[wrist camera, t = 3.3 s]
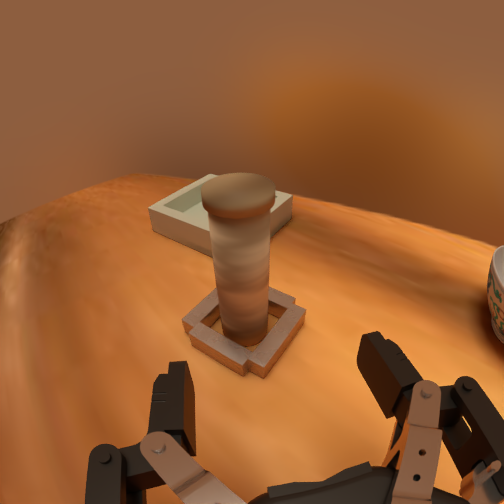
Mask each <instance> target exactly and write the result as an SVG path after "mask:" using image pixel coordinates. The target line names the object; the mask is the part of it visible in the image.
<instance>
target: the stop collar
mask: <svg viewBox="0 0 504 504" xmlns="http://www.w3.org/2000/svg"><path fill="white" fill-rule="evenodd" d="M295 299H296V298H294V297H292V296H289V295H287V294H285V293H282V292H280V291H278V290H276V289H273V288H271V287H269V294H268V313H270V314H272V315H274V316H276V317H278V318H280V319H279V320H278V322H277V323H276V324H275V326H274V327H273V328H272V329H271V331H270V332H269V333H268V334H267V336H266V337H265V338H264V339H263V341H262V342H261V343H260V344H259V346H258V347H257V348H256V349H255V350H254V352H252V351H250V350H248V349H246V348H244V347H243V346H241V345H239V344H237V343H235V342H233V341H232V340H230V339H228V338H226V337H225V336H223V335H221V334H219V333H218V332H216V331H214V330H212V329H211V328H210V327H211V326H212V324H213V323H214V322H215V321H216V320H217V319H218V318H219V317H220V316H221V315H220V308H219V301H218V294H217V287H216V288H215V289H214V290H213V291H212V292H211V293H210V294H209V295H208V296H207V297H206V298H204V299H203V300H202V301H201V302H200V303H199V304H198V305H197V306H196V307H195V308H194V309H193V310H191V311H190V312H189V313H188V314H187V315H186V316H185V317H184V318H183V319H182V323H183V326H184V329H185V332H186V333H187V334H189V337H190V340H191V344H192V345H193V346H194V347H196V348H197V349H199V350H200V351H202V352H203V353H205V354H207V355H208V356H210V357H211V358H213V359H215V360H216V361H218V362H219V363H221V364H223V365H224V366H226V367H228V368H229V369H231V370H233V371H235V372H236V373H238V374H240V375H241V376H244V375H245V374H246V373H247V371H248V370H249V371H251V372H252V373H254V374H256V375H258V376H260V377H262V378H263V379H264V377H265V376H266V375H267V373H268V372H269V371H270V369H271V368H272V367H273V365H274V364H275V363H276V361H277V360H278V359H279V357H280V356H281V354H282V353H283V352H284V350H285V349H286V347H287V346H288V345H289V343H290V342H291V340H292V339H293V338H294V336H295V335H296V333H297V332H298V330H299V329H300V328H301V326H302V325H303V323H304V320H305V314H306V309H304V308H302V307H299V306H297V305H295Z"/></svg>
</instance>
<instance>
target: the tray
mask: <svg viewBox="0 0 504 504" xmlns="http://www.w3.org/2000/svg"><path fill="white" fill-rule="evenodd" d="M214 177H217V176H216V175H212V174H209V175H207V176H205V177H203V178H201V179H199V180H197V181H195V182H194V183H192V184H190V185H188V186H186V187H184V188H182V189H180V190H179V191H177V192H175V193H173V194H171V195H170V196H168V197H166V198H164V199H162V200H161V201H159V202H157V203H155V204H154V205H152V206H150V207H148V210H149V215H150V220H151V224H152V228H153V231H155V232H157V233H159V234H161V235H164V236H166V237H168V238H170V239H172V240H175V241H177V242H179V243H181V244H183V245H186V246H188V247H190V248H192V249H195V250H197V251H199V252H201V253H203V254H206V255H208V256H210V257H212V258H213V255H212V247H211V239H210V230H209V221H208V212H207V211H206V210H205V209H204V208H203V205H202V198H201V187H202V185H203V184H204V183H205V182H207V181H208V180H210V179H212V178H214ZM292 200H293V195H290V194H287V193H283V192H280V191H276V190H275V204H274V206H273V207H272V208H271V216H270V238H271V237H272V236H273V235H274V234H275V233H276V232H277V231H278V230H280V229H281V228H282V227H283V226H284V225H285V224H286V223H287V222H288V221H289V220H290V219H291V217H292Z"/></svg>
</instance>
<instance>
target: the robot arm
mask: <svg viewBox="0 0 504 504" xmlns="http://www.w3.org/2000/svg"><path fill="white" fill-rule="evenodd" d="M357 366H358V369H359V371H360V372H361V374H362V376H363V378H364V379H365V381H366V383H367V385H368V386H369V388H370V390H371V392H372V393H373V395H374V397H375V399H376V401H377V402H378V404H379V406H380V408H381V410H382V411H383V413H384V415H385V417H386V419H388V418H390V417H393V416H395V417H396V419H397V420H396V422H395V426H394V430H393V434H392V437H391V441H390V445H389V448H388V452H387V455H386V457H385V459H384V461H383V463H382V466H370V463H369V461H368V462H365V463H362V464H360V465H357V466H353V467H350V468H347V469H345V470H343V471H341V472H339V473H338V474H336V475H334V476H332V477H330V478H328V479H327V480H325V481H322V482H293V483H288V484H282V485H277V486H271V487H267V489H268V492H267V493H264V494H262V495H260V496H258V497H256V498H254V499H253V500H251V501H250V502H249V503H248V504H500V503H502V502H503V501H504V420H503V418H502V417H501V415H500V414H499V412H498V411H497V409H496V408H495V407H494V405H493V404H492V402H491V401H490V399H489V398H488V397H487V395H486V394H485V392H484V391H483V390H482V388H481V387H480V386H479V384H478V383H477V382H476V380H474V379H473V378H471V377H468V376H462V377H460V378H458V379H457V380H456V382H455V384H454V385H450V386H441V387H439V386H438V385H437V384H436V383H434V382H432V381H429V380H423V378H422V377H421V376H420V374H419V373H418V371H417V370H416V369H415V367H414V366H413V365H412V363H411V362H410V361H409V359H407V357H406V355H405V354H404V353H403V351H402V350H401V349H400V347H399V346H398V345H397V344H396V343H394V342H393V341H391V340H390V339H387V340H385V339H384V337H383V336H382V335H381V333H380V332H378V331H376V332H372V333H368V334H363V335H362V338H361V342H360V346H359V351H358V355H357ZM152 393H153V395H152V400H151V401H152V402H151V409H150V418H149V427H148V433H147V435H146V436H145V437H144V438H143V439H142V441H141V442H139V443H138V444H136V445H133V446H129V447H125V448H120V449H117V448H116V447H115V446H113V445H110V444H101V445H98V446H96V447H95V448H94V449H93V450H92V451H91V453H90V456H89V463H88V471H87V481H86V493H85V504H147V501H146V489H149V488H153V487H157V486H161V485H165V484H167V485H168V486H169V487H170V488H171V489H172V490H173V491H174V493H175V494H176V495H177V496H178V497H179V498H180V499H181V500H182V501H183V502H184V503H185V504H247V503H246V502H244V501H243V500H242V499H241V498H239V497H238V496H237V495H236V494H235V493H233V492H232V491H231V490H230V489H229V488H227V487H226V486H225V485H224V484H223V483H222V482H221V481H219V480H218V479H217V478H216V477H215V476H214V475H213V474H211V473H210V472H209V471H206V470H204V469H203V468H202V467H201V466H200V465H199V464H198V463H197V462H196V461H195V460H194V459H193V458H192V457H191V456H196V433H195V392H194V385H193V381H192V378H191V374H190V371H189V367H188V363H187V361H177V362H170V363H169V370H168V374H159V376H158V377H157V379H156V380H155V382H154V385H153V392H152ZM462 416H464V418H465V419H466V421H467V423H468V424H469V426H470V428H471V430H472V433H471V431H470V429H469V427H468V426H467V424H466V423H465V421H464V419H463V418H462ZM441 440H443V442H444V444H445V446H446V448H447V450H448V452H449V454H450V456H451V457H452V459H453V461H454V463H455V465H456V467H457V469H458V471H459V473H460V475H461V477H462V481H461V486H460V488H461V489H460V490H459V494H460V496H462V497H459V496H456V495H453V494H451V493H448V492H445V491H443V490H440V489H438V488H435V487H433V486H434V481H435V476H436V471H437V466H438V460H439V454H440V447H441Z"/></svg>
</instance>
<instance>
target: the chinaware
mask: <svg viewBox="0 0 504 504" xmlns="http://www.w3.org/2000/svg"><path fill="white" fill-rule="evenodd" d="M487 296H488V304H489V309H490V313H491V316H492V319H491V322H492V327H493V330H494V332H495V334H496V336H497V337H498V339H499V340H500V341H501V342H502V343H503V344H504V245H503V246H500V247H498V248H497V249H496V250H495V252H494V254H493V257H492V260H491V264H490V269H489V274H488V283H487Z"/></svg>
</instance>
